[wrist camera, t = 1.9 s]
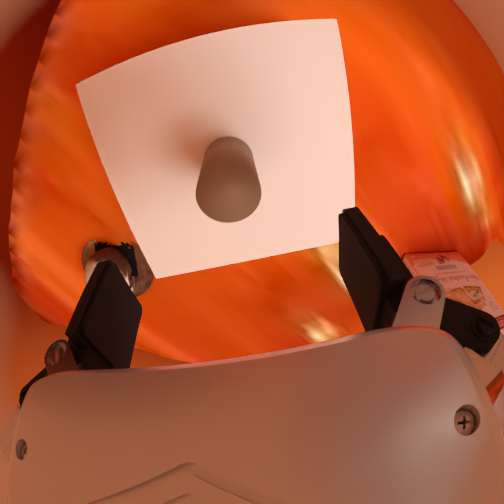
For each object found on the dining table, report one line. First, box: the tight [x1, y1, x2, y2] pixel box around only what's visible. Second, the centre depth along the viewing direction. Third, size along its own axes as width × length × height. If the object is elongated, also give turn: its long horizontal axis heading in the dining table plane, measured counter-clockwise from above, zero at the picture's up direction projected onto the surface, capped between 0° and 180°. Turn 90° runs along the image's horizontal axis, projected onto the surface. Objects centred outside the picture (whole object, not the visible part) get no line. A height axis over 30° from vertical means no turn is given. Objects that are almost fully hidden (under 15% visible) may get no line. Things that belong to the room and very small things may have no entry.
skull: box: [82, 238, 153, 296], centre depth 39 cm, size 12×10×10 cm
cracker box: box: [402, 251, 504, 334], centre depth 36 cm, size 14×6×21 cm, turn 89°
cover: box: [75, 19, 355, 279], centre depth 22 cm, size 19×19×18 cm
